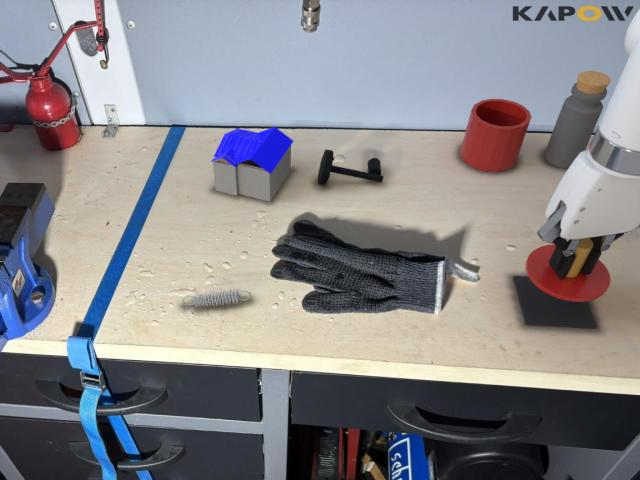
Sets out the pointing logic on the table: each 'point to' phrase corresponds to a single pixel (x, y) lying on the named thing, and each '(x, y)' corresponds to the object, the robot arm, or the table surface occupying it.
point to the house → (252, 162)
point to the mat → (550, 307)
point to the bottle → (577, 119)
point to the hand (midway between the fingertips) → (569, 268)
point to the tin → (495, 134)
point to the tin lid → (575, 282)
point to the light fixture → (327, 167)
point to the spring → (217, 298)
